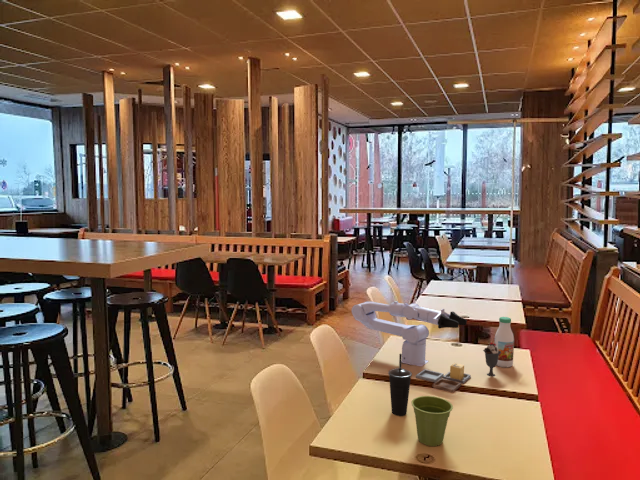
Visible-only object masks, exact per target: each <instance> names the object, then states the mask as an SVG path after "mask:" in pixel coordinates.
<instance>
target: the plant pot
mask: <svg viewBox="0 0 640 480" xmlns="http://www.w3.org/2000/svg"><path fill="white" fill-rule="evenodd" d="M411 406H412V407H413V413H414V418H415V424H416V434H417V440H418V442H419V443H421V444H423V445H425V446H428V445H429V446H428V447H437V445H438V446H440V445H442V444H443V442H444V437H445V433H446V430H447V429H446V428H447V426H448V425H447V424H448V421H449V418H450V415H451V411H453V409H454V406H453V404H452V402H450V401H449V400H447V399H446V398H445V399H444V398H442V397H438V396H432V395H421V396H417V397H415V398H413V399H412V400H411Z"/></svg>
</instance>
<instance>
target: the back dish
mask: <svg viewBox="0 0 640 480" xmlns="http://www.w3.org/2000/svg"><path fill="white" fill-rule="evenodd" d="M471 377H472V376H471V374H469V373H465V372H464V378H463V379H462V380H459V379H454V378H450V371H448V372H447V373H446V374H444V376H443V377H442V378H443V379H447V380H451V381H456V382H460V383H461V385H462V384H463V385H464V384H465V383H466V382H467V381H469V379H471Z"/></svg>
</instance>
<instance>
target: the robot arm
mask: <svg viewBox="0 0 640 480" xmlns="http://www.w3.org/2000/svg"><path fill="white" fill-rule="evenodd" d="M377 312H382V313H389V315H390V316H393V317H394V316H395V317H400V318H406V320H409V321H410V320H418V321H421V322H424V323H429V324H432V325H435V326H437V327H438V329H445V328H448V329H449V328H451V329H457V328H459V326H467V323H468V322H467V321H468V320H467V319H466V318H464V317H462V316H460V315H458V314H457V313H456V312H455V311H450V312H449V313H447V312H446V311H445V308H441V309H440V310H436V309H433V308H428V307H424V306H420V305H419V304H418V303H414V302H411V303H408V302H404V303H402V302H399V301H396V300H394V301H393V302H390V303H388V304H387V303H382V302H377V301H376V302H375V301H364V302H361V303H358V304H354V305H353V306H352V307H351V314H352V316H353V318H354V320H355V321H358V322H359V323H360V324H362V325H364V327H366V328H367V329H369V330H373V331H377V332H380V333H386V334H390V335H394V336H399V337H402V340H404V341H403V342H402V346H401V354H402V357H401V364H402V363H403V364H407V365H411V366H417V367H423V366H425V365H426V364H427V363H430V361H429V360H426V354H427V353H426V349H427V348H426V346H427V344H426V343H427V338H428V337H429V335H430V330H429V328H428V327H427V326H426V325H424V324H418V325H416V324H405V323H399V322H394V321H391V320H390V321H389V320H385V319H381V318H377V314H376V313H377Z"/></svg>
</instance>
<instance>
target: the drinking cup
mask: <svg viewBox="0 0 640 480" xmlns="http://www.w3.org/2000/svg"><path fill="white" fill-rule="evenodd" d="M401 361H402V353H399V360H398V362H399V363H398V368H392V369H389V371H388V373H387V374H388V377H389V378H388V379H389V391H390V392H389V393H390V406H391V414H392V415H394V416H396V417H403V416H406V415H407V413H408V404H409V395H410V388H411V378H412V376H413V373H412V372H411V371H410V370H408V369H406V368H402V363H401Z"/></svg>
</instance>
